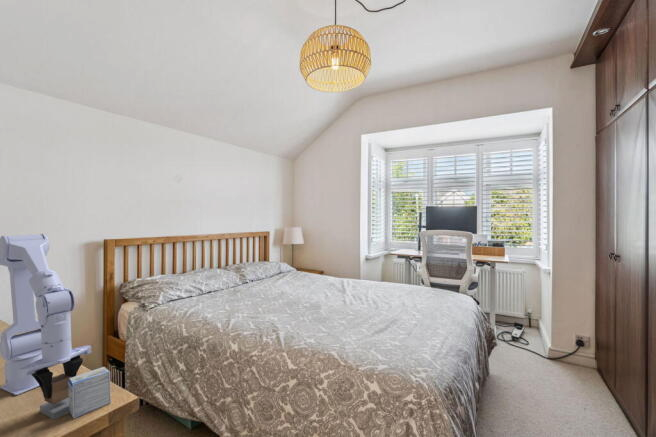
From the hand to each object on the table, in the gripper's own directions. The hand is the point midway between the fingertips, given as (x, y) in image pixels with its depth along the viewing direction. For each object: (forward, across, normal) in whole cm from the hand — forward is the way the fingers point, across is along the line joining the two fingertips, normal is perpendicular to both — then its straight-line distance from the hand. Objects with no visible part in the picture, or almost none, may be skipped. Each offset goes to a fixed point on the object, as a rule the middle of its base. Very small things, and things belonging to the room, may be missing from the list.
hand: (58, 392), depth 80 cm
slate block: (+5, 0, 0) cm, 5 cm away
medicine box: (+5, +4, -7) cm, 9 cm away
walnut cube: (+2, 0, 0) cm, 2 cm away
